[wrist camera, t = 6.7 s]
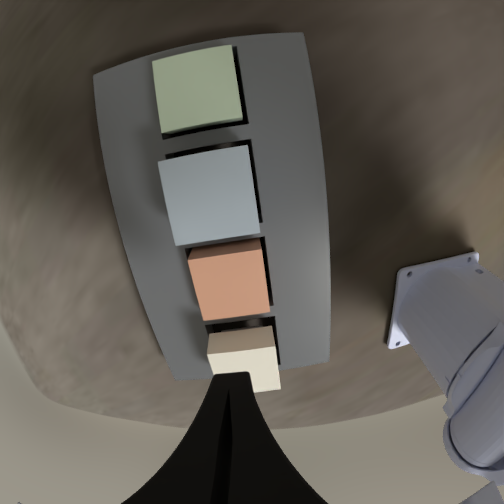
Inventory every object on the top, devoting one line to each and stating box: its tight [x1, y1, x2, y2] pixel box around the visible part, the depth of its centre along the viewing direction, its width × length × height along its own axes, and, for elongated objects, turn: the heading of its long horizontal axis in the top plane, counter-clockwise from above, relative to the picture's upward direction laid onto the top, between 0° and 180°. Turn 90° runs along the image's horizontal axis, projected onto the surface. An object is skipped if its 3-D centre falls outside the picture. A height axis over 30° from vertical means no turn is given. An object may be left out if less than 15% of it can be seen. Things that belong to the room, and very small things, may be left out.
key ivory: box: [207, 325, 281, 392], centre depth 17 cm, size 4×4×3 cm
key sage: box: [152, 45, 243, 134], centre depth 13 cm, size 4×4×3 cm
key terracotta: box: [188, 237, 270, 321], centre depth 17 cm, size 4×4×3 cm
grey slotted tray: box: [93, 33, 331, 380], centre depth 16 cm, size 12×22×2 cm, turn 8°
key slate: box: [158, 145, 260, 246], centre depth 13 cm, size 4×4×3 cm
